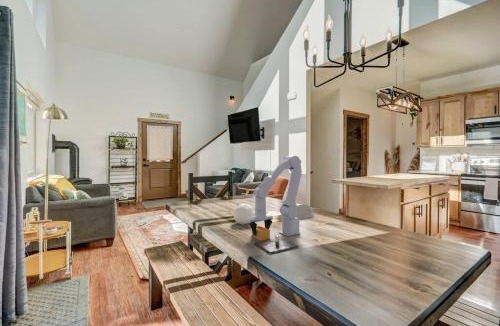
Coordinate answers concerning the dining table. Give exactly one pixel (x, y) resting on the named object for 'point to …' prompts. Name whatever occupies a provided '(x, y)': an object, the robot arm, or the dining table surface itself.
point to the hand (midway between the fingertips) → (260, 234)
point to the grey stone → (304, 212)
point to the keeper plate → (275, 245)
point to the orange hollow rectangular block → (262, 233)
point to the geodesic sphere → (243, 213)
